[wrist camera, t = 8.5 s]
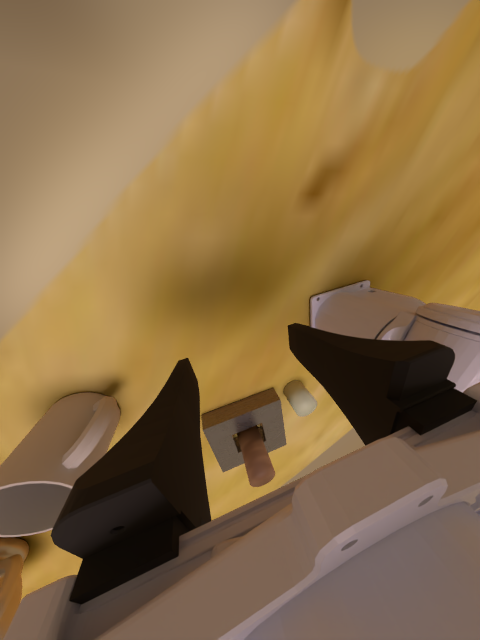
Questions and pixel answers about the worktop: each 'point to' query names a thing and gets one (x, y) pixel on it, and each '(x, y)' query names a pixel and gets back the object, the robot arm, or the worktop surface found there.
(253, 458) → the walnut dowel
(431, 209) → the worktop surface
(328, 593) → the robot arm
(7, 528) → the cup
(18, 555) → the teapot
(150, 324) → the worktop surface
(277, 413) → the collar plate
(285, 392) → the pale cream cylinder
